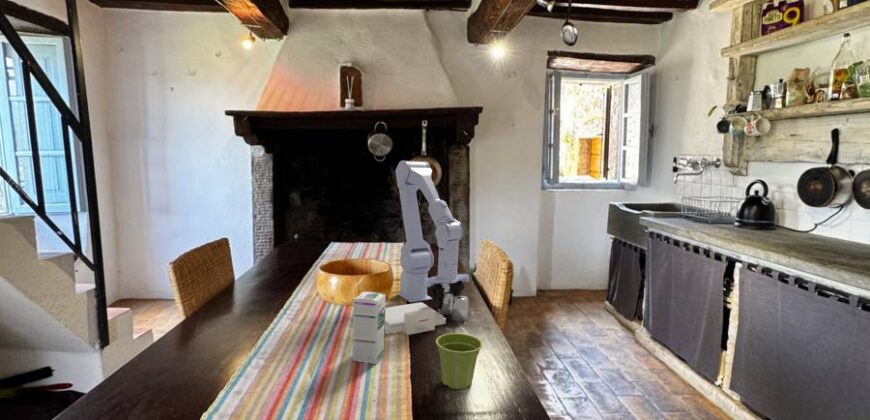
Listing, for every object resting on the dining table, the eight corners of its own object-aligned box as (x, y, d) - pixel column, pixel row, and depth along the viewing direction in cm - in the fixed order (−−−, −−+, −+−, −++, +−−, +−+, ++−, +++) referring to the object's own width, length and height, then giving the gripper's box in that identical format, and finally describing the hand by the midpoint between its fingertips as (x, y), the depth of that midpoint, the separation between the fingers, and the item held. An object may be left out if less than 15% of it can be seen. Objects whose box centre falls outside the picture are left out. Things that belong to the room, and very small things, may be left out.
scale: (368, 318, 124) (368, 301, 123) (424, 309, 133) (424, 293, 133) (391, 338, 111) (391, 319, 111) (451, 327, 121) (452, 309, 120)
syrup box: (376, 365, 97) (378, 300, 95) (351, 361, 98) (352, 297, 97) (384, 354, 103) (386, 293, 101) (360, 350, 104) (362, 290, 102)
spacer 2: (435, 310, 133) (436, 290, 132) (447, 308, 135) (448, 289, 135) (443, 315, 129) (444, 295, 129) (455, 313, 132) (456, 293, 131)
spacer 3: (448, 316, 128) (450, 296, 128) (461, 314, 131) (462, 294, 130) (457, 322, 125) (458, 301, 124) (470, 319, 127) (471, 299, 126)
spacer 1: (439, 302, 141) (440, 283, 140) (450, 300, 143) (451, 282, 142) (446, 306, 137) (447, 287, 136) (458, 304, 139) (459, 286, 139)
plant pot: (432, 371, 96) (434, 332, 95) (475, 371, 97) (477, 333, 95) (436, 394, 86) (438, 351, 85) (483, 394, 87) (486, 352, 86)
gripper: (433, 267, 123) (431, 315, 125) (476, 263, 131) (473, 308, 132) (421, 262, 129) (419, 307, 131) (462, 258, 137) (460, 300, 138)
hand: (445, 307), depth 132 cm, fingers closed on spacer 2, 4 cm apart
